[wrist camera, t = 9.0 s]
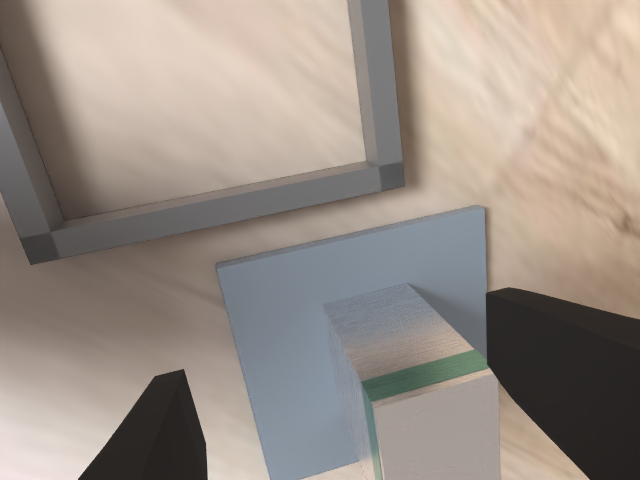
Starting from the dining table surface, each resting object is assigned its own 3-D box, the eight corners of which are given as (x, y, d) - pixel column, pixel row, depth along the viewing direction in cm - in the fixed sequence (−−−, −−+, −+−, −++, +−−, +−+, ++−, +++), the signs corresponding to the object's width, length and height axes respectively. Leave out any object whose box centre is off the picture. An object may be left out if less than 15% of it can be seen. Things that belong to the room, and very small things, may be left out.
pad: (270, 478, 22) (272, 487, 22) (215, 263, 18) (216, 268, 18) (484, 413, 24) (490, 420, 24) (477, 204, 20) (484, 208, 20)
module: (340, 413, 21) (394, 550, 15) (321, 303, 19) (373, 408, 13) (417, 390, 22) (501, 513, 16) (406, 282, 20) (498, 371, 13)
